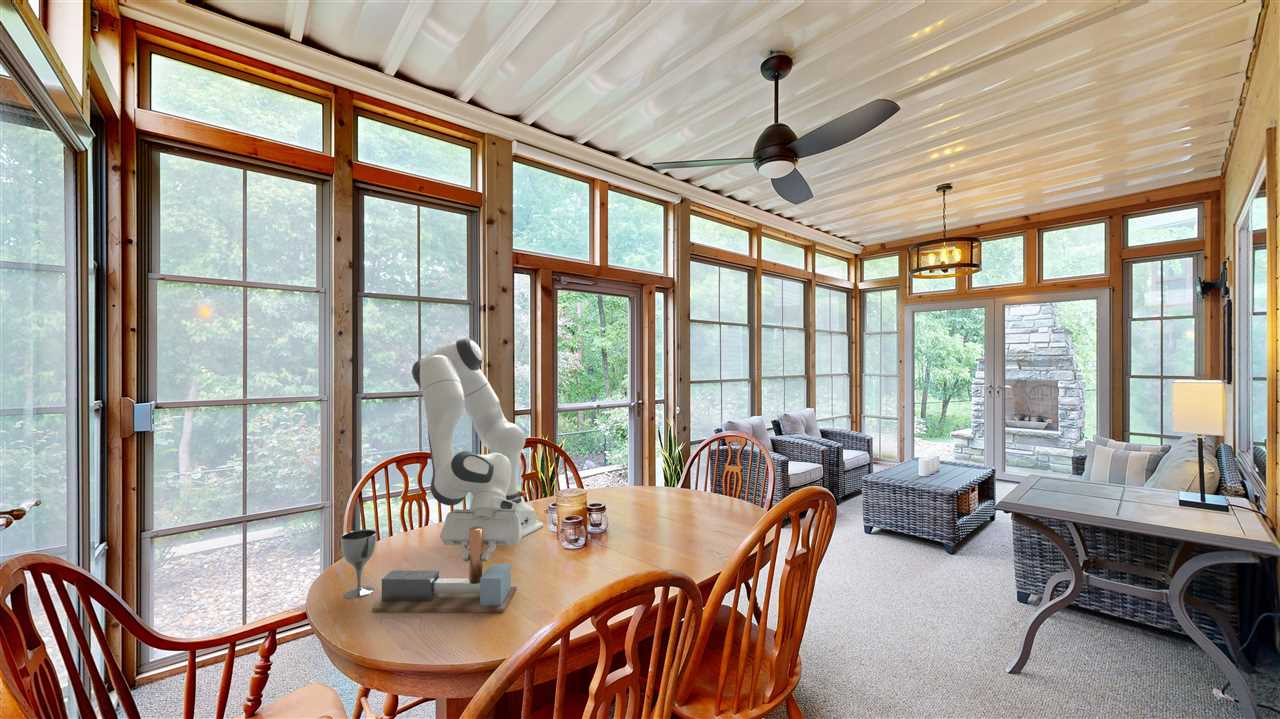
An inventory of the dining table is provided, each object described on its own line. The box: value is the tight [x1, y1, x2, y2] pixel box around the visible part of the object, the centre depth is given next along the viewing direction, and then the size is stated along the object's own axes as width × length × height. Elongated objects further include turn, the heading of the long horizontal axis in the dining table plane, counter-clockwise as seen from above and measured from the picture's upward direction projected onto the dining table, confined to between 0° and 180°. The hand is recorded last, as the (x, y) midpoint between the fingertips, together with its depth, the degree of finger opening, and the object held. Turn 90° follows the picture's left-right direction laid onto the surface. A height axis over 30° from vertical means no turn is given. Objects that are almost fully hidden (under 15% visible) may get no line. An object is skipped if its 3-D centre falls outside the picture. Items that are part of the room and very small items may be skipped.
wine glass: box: [340, 528, 377, 599], centre depth 136 cm, size 8×8×15 cm
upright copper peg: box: [432, 527, 484, 594], centre depth 131 cm, size 18×3×16 cm, turn 89°
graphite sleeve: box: [381, 569, 440, 602], centre depth 131 cm, size 12×5×5 cm, turn 89°
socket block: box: [480, 563, 512, 605], centre depth 131 cm, size 5×9×6 cm, turn 179°
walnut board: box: [372, 586, 517, 614], centre depth 131 cm, size 31×12×1 cm, turn 89°
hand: (475, 560), depth 130 cm, fingers closed on upright copper peg, 3 cm apart
